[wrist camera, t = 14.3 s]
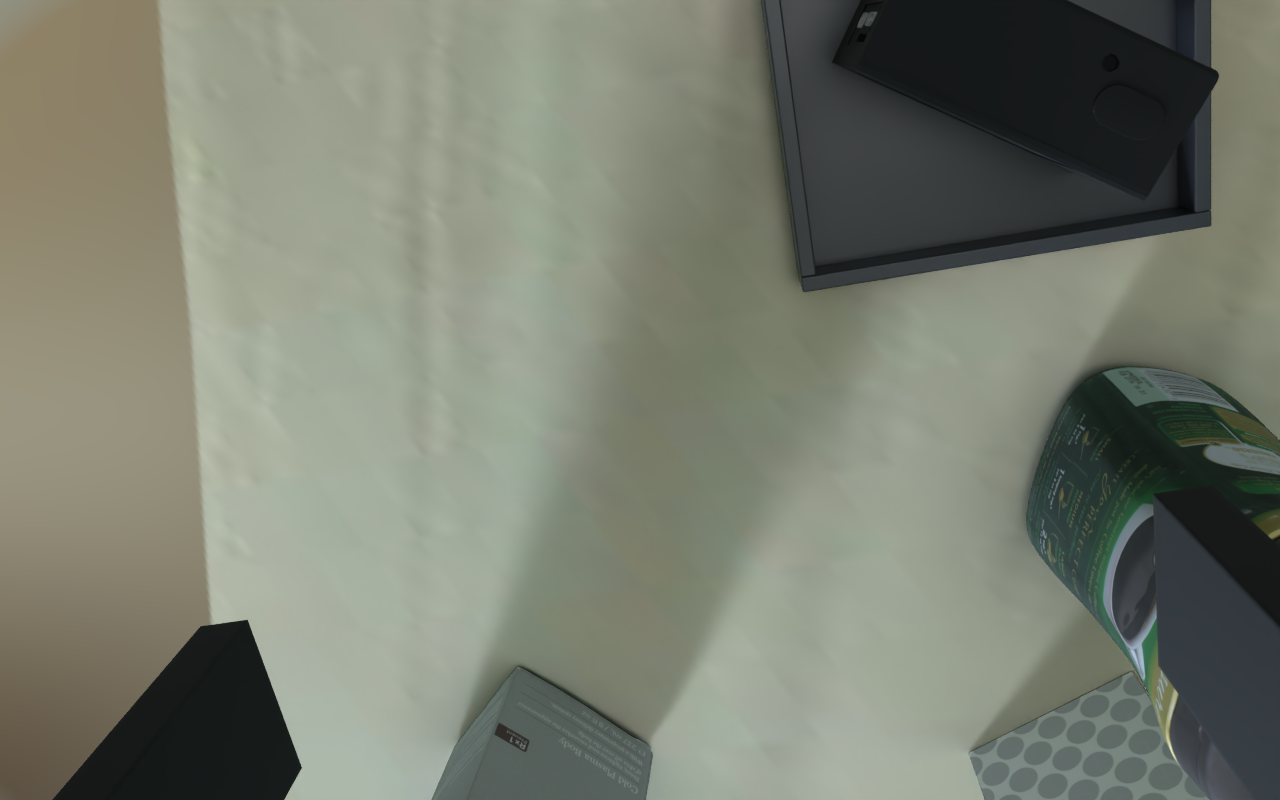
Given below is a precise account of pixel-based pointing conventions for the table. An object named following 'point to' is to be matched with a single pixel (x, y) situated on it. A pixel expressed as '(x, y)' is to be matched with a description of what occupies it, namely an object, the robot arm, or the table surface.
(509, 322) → the table surface
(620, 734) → the cosmetic box
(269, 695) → the robot arm
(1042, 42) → the digital camera
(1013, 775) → the box
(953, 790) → the table surface
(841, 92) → the shallow black tray
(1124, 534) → the coffee jar
